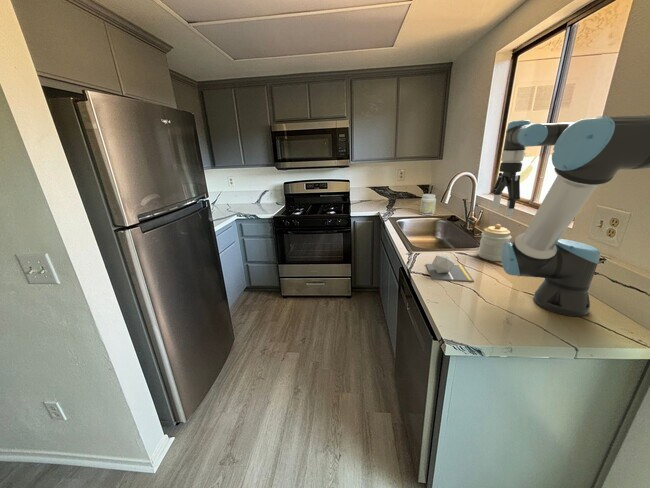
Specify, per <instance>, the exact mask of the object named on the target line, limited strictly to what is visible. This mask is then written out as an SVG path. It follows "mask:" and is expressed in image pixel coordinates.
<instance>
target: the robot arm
mask: <svg viewBox="0 0 650 488" xmlns="http://www.w3.org/2000/svg"><path fill="white" fill-rule="evenodd" d="M547 146H548V147H549V146H550V147H551V146H553V152H552V154H551V162H552V166H553V167H554V172H555V174H556V178H555V179H554V181H553V183H552V185H551V187H550V188H549V190H548V191H547V193H546V195H545V197H544V199H543V201H542V202H541V204H540V205H539V207H538V209H537V211H536V213H535V214H534V215H533V218H532V219H531V221H530V222H529V225H528V226H527V228H526V230H525V232H523V233H520V234H518V235H516V237H515V239H514V241H513V242H511V241H509V242H508V243H504V244H503V246H502V251H501V261H500V262H501V265H502V268H503V271H504V273H506V274H508V275H509V276H516V277H523V278H524V277H525V278H526V277H527V278H539V279H540V278H542V279H544V280H543V281H542V282H541V284H540V285H539V286H538V288H537V289H536V290H535V292H534V294H533V297H532V298H533V301H534V302H535V303H536V304H537V305H538V306H539V307H542V308H543V309H545V310H547V311H550V312H553V313H556V314H559V315H564V316H568V317H584V316H585V317H586V316H587V315H588V314H589V312H590V309H591V303H590V295H589V290H590V288H591V284H592V281H593V279H594V275H595V273H596V270H597V267H598V265H599V264H600V262H599V261H600V257H601V252H600V250H599V249H598V248H596V247H595V246H592V245H589V244H587V243H583V242H579V241H576V240H570V239H566V238H565V239H563V238H562V236H563V235H564V233H565V232H566V230H567V229H568V227H569V226H570V225H571V224H572V223H573V221H574V219H575V218H576V217H577V215H578V214H579V212H580V211H581V209H582V208H583V207H584V205H585V204H586V203H587V202H588V200H589V198H590V197H591V196H592V194H593V193H594V192H595V190H596V189H597V188H598V187H600V186H604V185H606V184H608V183H610V182H611V181H612V180H613V178H614V177H615V175H616V174H617V173H618V172H619V171H620V170H643V169H644V170H645V169H650V114H648V115H626V116H625V115H624V116H621V115H620V116H603V115H602V116H596V117H591V118H589V117H588V118H583V119H580V120H579V119H578V120H577V121H575V122H556V123H555V122H553V123H552V122H551V123H539V122H536V123H535V122H534V123H533V122H531V120H529V119H524V120H523V119H521V120H514V121H513V120H512V121H509V123H508V124H507V128H506V131H505V138H504V143H503V149H502V152H501V158H500V161H501V162H500V164H499V173H498V177H497V180H496V182H495V184H494V186H493V189H492V193H493V194H494V195H493V201H492V205H491V210H499V209H500V205H501V202H502V201H501V199H502V196H503V191H504V189H505V188H506V187H507V193H508V195H507V196H508V199H507V202H506V208H505V211H504V217H514V216H513V215H514V212H515V207H516V206H515V205H516V203H517V201H519V200H520V198H521V188H520V187H521V186H520V184H521V183H520V180H521V175H520V174H517V173H520V172H521V171H522V168H523V161H524V158H525V156H526V148H528V147H547Z"/></svg>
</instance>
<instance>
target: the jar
mask: <svg viewBox="0 0 650 488" xmlns="http://www.w3.org/2000/svg"><path fill="white" fill-rule="evenodd" d="M510 234H511V231H510V230H509V229H508V228H506V227H502V225H501V224H500V223H497V224H495V225H493V226H492V225H489V226H488V227H486V228H484V229H483V231H482V232H481V238H480V239H479V240H480V244H479V248H478V250H477V251H478V252H477V253H478V256H479V257H480V258H482V259H483V260H487V261H491V262H502V261H501V251H502V246H503V244H504V243H508V242H511V239H512V238H513V237H512V235H510Z"/></svg>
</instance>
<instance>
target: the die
mask: <svg viewBox="0 0 650 488" xmlns="http://www.w3.org/2000/svg"><path fill="white" fill-rule="evenodd" d="M431 264H432V266H433V267H434V269H435V270H436V271H437V273H449V272H450V270H451V268H452V267H453V265H456V264H455V262H454V261H453V260H452V258H451V257H450V256H449V255H448V254H438V255H435V257H434V260H433V261H432V263H431Z"/></svg>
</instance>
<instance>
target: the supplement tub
mask: <svg viewBox="0 0 650 488" xmlns="http://www.w3.org/2000/svg"><path fill="white" fill-rule="evenodd" d="M436 206H437V198H436V194H434V193H424V194H422V197H421V199H420V206H419V214H420V215H421V214H422V215H421V216H424V215H432V216H434V215H435V213H436ZM433 214H434V215H433Z"/></svg>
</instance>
